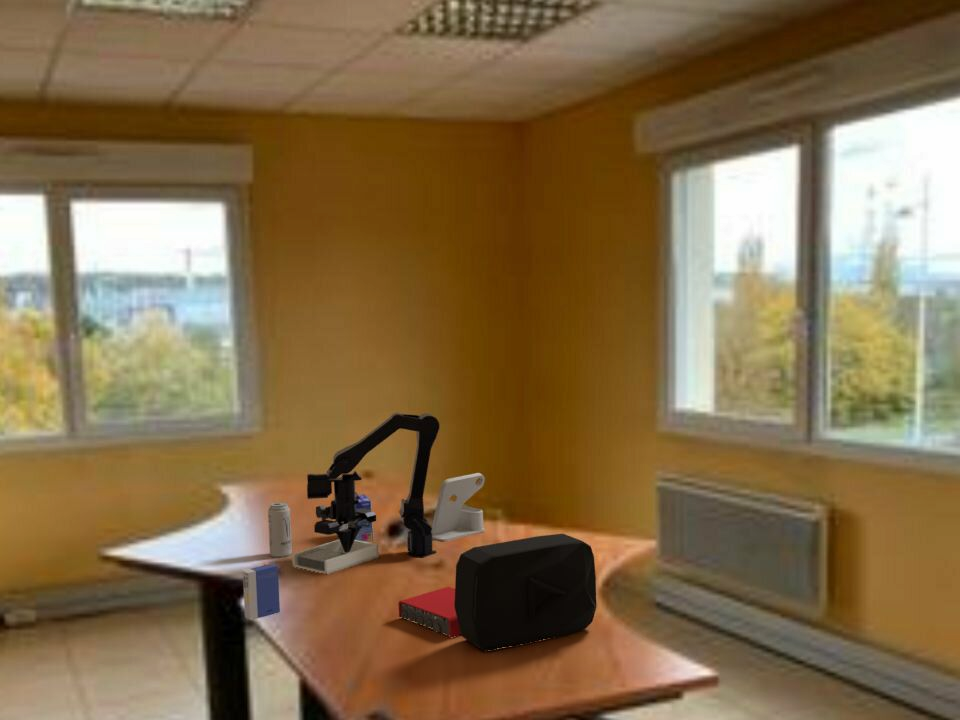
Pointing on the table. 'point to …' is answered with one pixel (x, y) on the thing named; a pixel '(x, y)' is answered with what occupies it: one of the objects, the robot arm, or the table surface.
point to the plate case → (356, 555)
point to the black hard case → (525, 590)
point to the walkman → (261, 591)
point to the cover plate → (317, 558)
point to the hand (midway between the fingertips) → (347, 552)
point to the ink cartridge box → (367, 528)
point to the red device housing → (433, 610)
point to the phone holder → (457, 509)
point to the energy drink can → (279, 529)
